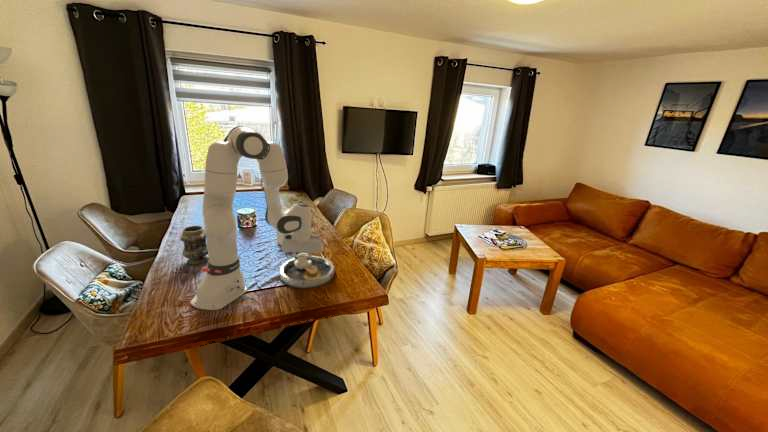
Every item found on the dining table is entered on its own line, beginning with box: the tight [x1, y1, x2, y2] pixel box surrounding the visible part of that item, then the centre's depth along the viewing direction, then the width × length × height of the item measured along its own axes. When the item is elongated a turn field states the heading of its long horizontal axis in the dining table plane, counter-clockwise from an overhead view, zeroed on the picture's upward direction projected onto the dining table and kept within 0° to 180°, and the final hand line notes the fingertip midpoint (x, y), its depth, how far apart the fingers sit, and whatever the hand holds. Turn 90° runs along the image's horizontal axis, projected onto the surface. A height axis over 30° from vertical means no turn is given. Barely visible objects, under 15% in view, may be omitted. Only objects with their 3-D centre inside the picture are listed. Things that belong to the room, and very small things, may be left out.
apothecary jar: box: [179, 225, 209, 267], centre depth 152 cm, size 12×12×18 cm
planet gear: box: [294, 252, 311, 269], centre depth 154 cm, size 8×8×6 cm
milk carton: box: [275, 229, 284, 246], centre depth 178 cm, size 7×7×19 cm
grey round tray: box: [279, 255, 335, 289], centre depth 150 cm, size 26×26×7 cm
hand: (302, 259), depth 154 cm, fingers closed on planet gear, 5 cm apart
